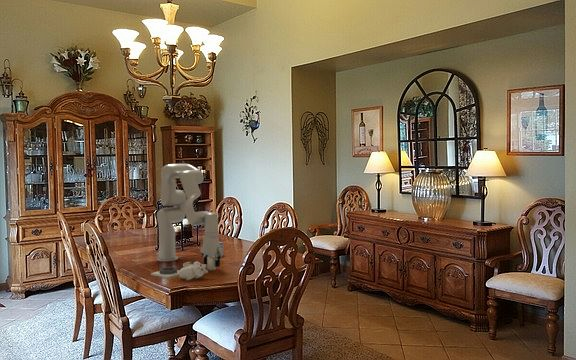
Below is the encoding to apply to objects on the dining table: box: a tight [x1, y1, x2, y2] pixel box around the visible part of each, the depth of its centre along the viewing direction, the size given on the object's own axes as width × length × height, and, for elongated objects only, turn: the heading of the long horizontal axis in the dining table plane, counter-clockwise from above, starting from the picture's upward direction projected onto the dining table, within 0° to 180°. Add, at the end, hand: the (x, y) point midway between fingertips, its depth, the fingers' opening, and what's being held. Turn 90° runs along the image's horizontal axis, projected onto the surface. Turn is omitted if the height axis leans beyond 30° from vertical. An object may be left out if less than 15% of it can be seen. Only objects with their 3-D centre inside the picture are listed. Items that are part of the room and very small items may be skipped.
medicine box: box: [208, 241, 224, 257], centre depth 321 cm, size 8×4×9 cm, turn 126°
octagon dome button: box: [150, 266, 181, 279], centre depth 275 cm, size 13×13×3 cm
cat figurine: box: [178, 261, 209, 282], centre depth 265 cm, size 10×8×15 cm
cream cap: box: [206, 255, 217, 271], centre depth 286 cm, size 5×5×7 cm
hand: (211, 265), depth 286 cm, fingers open, 8 cm apart
